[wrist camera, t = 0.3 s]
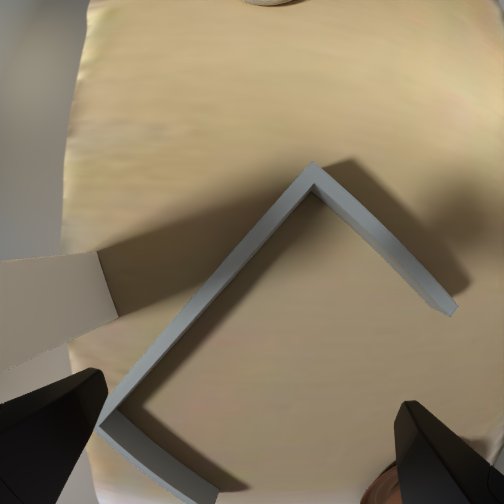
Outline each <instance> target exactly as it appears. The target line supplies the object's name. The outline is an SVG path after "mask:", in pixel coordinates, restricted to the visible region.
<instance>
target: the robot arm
mask: <svg viewBox="0 0 504 504" xmlns="http://www.w3.org/2000/svg"><path fill="white" fill-rule="evenodd" d="M107 396H108V387H107V384H106V381H105V377H104V374H103V372H102V371H101V370H99V369H96V368H87V369H85V370H83V371H80V372H78V373H76V374H73V375H71V376H69V377H66V378H64V379H61V380H59V381H57V382H54V383H52V384H49V385H47V386H44V387H42V388H40V389H37V390H35V391H32V392H30V393H27V394H25V395H22V396H20V397H17V398H14V399H12V400H10V401H7V402H4V404H3V403H2V404H0V504H55V503H56V502H57V500H58V498H59V496H60V494H61V491H62V490H63V488H64V485H65V484H66V482H67V480H68V478H69V476H70V474H71V472H72V470H73V468H74V466H75V464H76V463H77V461H78V459H79V457H80V455H81V453H82V451H83V449H84V448H85V446H86V444H87V442H88V440H89V438H90V436H91V434H92V432H93V430H94V428H95V426H96V423H97V421H98V418H99V416H100V413H101V411H102V408H103V406H104V404H105V401H106V399H107ZM394 435H395V449H396V466H397V475H398V481H399V487H400V494H401V500H402V504H504V475H503V474H501V473H500V472H499V471H498V470H497V469H495V468H494V467H493V466H492V465H491V466H490V463H488V462H487V461H486V460H485V459H484V458H483V457H481V456H480V455H479V454H478V453H477V452H476V451H474V450H473V449H472V448H471V447H470V446H469V445H468V444H466V443H465V442H464V441H463V440H462V439H461V438H459V437H458V436H457V435H456V434H455V433H454V432H453V431H451V430H450V429H449V428H448V427H447V426H446V425H444V424H443V423H442V422H441V421H440V420H439V419H437V418H436V417H435V416H434V415H433V414H432V413H431V412H429V411H428V410H427V409H426V408H425V407H424V406H422V405H421V404H420V403H419V402H418V401H416V400H412V401H404V402H403V403H402V404H401V407H400V409H399V412H398V414H397V416H396V419H395V422H394Z"/></svg>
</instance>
